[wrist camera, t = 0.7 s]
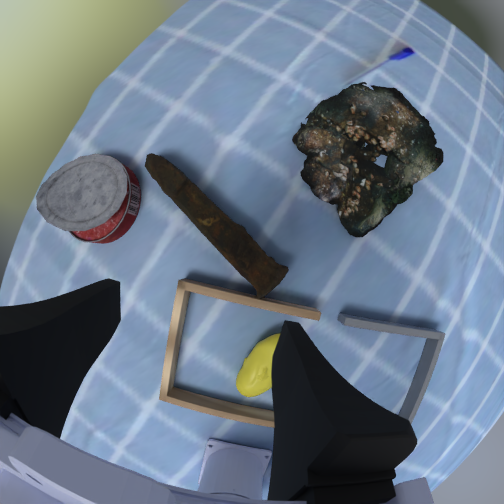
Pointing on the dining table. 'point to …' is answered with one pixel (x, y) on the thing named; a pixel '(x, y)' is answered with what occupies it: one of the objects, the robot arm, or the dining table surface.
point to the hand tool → (218, 227)
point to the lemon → (257, 368)
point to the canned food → (91, 198)
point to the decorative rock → (366, 153)
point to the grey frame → (426, 360)
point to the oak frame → (174, 340)
